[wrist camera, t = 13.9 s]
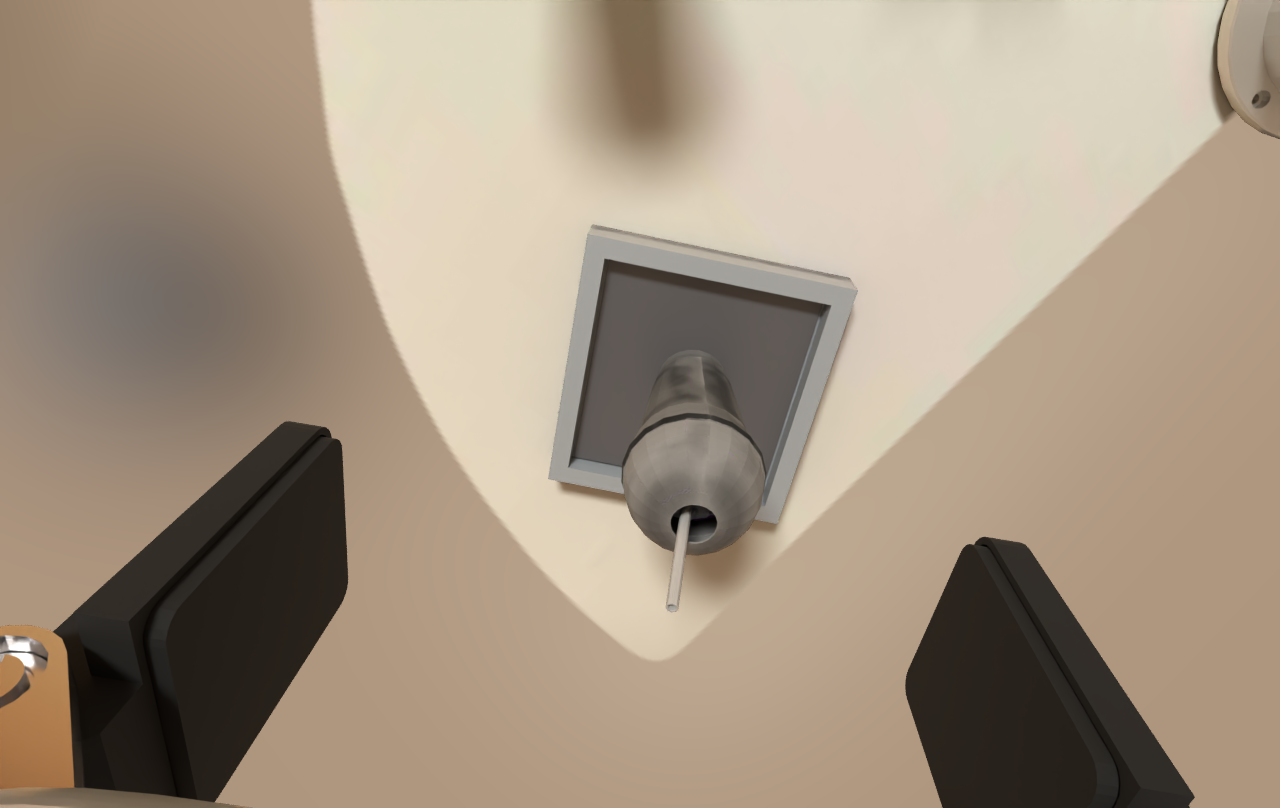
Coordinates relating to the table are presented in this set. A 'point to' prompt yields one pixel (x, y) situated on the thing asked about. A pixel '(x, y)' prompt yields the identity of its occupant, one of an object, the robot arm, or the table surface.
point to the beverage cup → (692, 464)
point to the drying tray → (694, 320)
